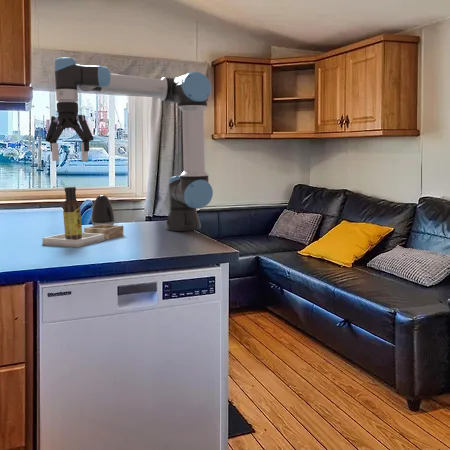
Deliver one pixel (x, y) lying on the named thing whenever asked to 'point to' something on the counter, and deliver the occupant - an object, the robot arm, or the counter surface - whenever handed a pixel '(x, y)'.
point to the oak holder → (106, 230)
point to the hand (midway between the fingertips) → (70, 160)
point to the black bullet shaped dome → (102, 211)
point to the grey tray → (62, 241)
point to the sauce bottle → (72, 215)
